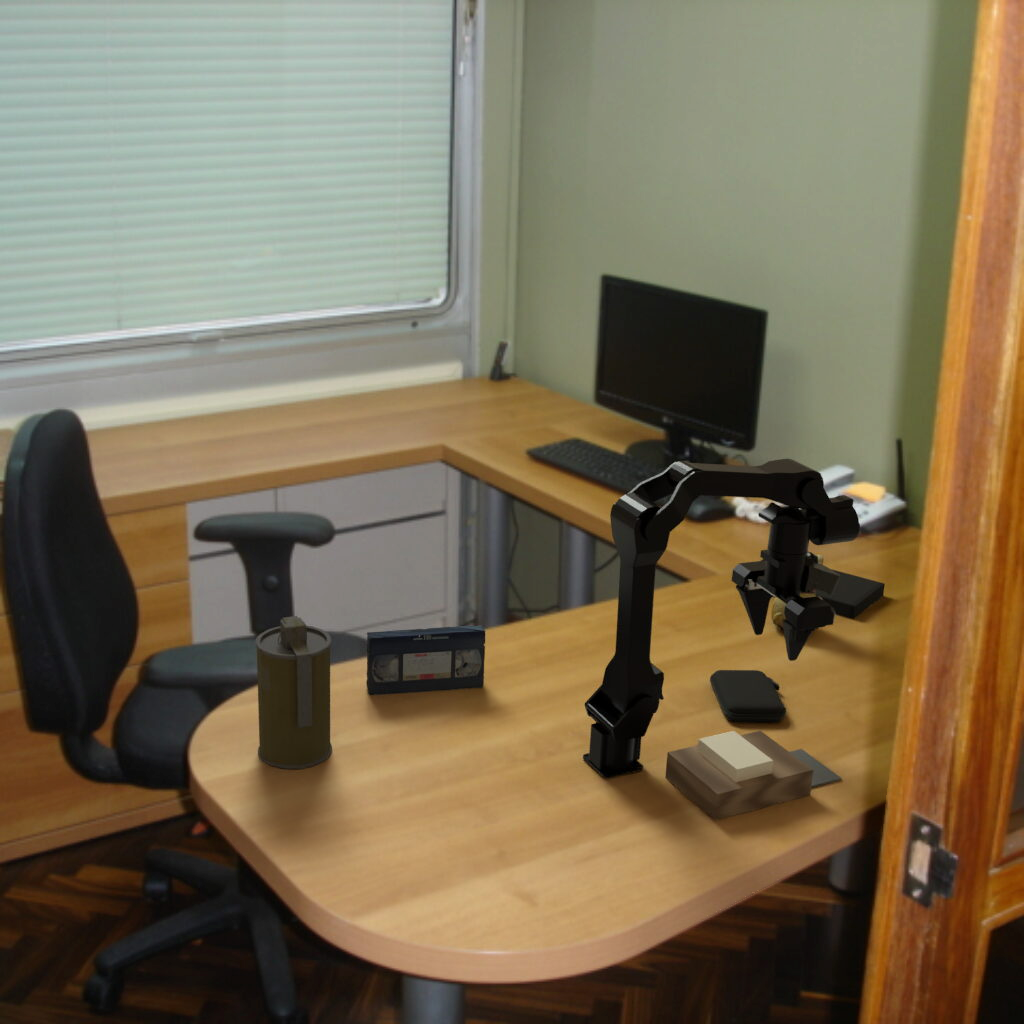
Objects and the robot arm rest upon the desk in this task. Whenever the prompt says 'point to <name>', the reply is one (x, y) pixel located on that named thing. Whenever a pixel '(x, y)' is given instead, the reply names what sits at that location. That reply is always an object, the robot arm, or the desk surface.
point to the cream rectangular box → (735, 756)
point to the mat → (816, 769)
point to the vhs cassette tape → (425, 660)
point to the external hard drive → (852, 594)
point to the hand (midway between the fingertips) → (775, 647)
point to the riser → (739, 797)
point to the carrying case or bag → (748, 696)
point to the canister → (294, 694)
